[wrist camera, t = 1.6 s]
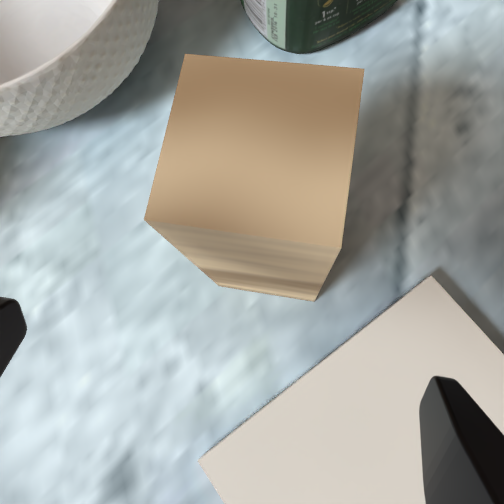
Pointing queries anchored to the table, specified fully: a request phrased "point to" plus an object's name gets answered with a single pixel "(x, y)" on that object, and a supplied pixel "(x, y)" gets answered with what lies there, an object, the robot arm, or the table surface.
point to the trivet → (360, 411)
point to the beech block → (258, 171)
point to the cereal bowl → (66, 57)
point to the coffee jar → (311, 20)
